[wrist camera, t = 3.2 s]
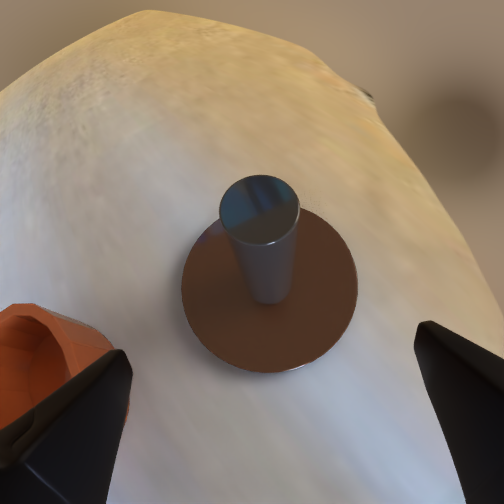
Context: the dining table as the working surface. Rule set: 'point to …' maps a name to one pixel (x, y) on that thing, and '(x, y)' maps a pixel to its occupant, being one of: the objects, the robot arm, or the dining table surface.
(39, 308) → the crock
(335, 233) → the brown disc with post
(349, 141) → the dining table surface
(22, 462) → the robot arm
